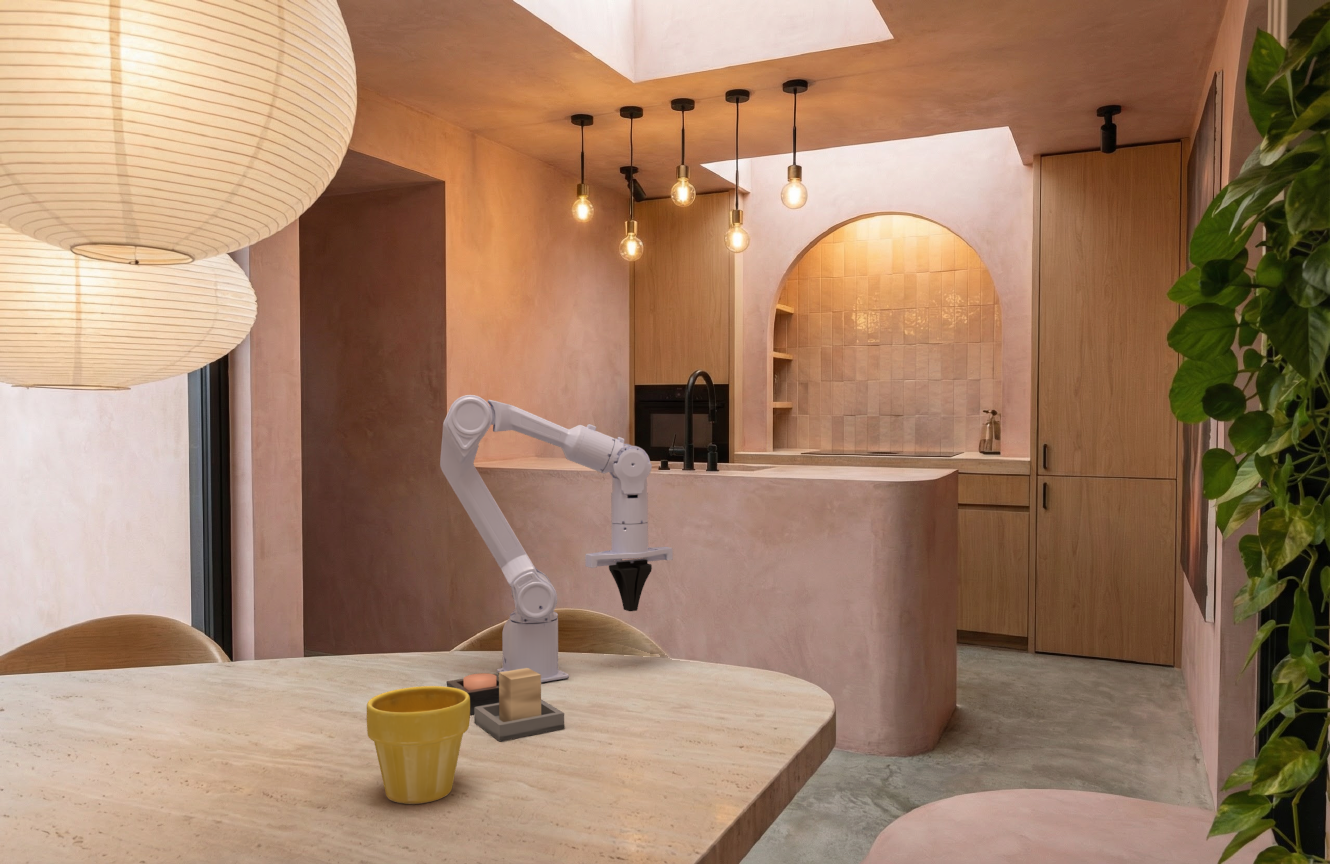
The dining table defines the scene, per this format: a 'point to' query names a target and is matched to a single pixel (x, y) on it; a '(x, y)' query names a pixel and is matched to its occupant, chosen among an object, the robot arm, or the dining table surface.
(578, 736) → the dining table surface
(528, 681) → the block
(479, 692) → the button housing
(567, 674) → the robot arm
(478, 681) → the button
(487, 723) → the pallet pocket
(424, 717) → the plant pot
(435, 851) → the dining table surface
